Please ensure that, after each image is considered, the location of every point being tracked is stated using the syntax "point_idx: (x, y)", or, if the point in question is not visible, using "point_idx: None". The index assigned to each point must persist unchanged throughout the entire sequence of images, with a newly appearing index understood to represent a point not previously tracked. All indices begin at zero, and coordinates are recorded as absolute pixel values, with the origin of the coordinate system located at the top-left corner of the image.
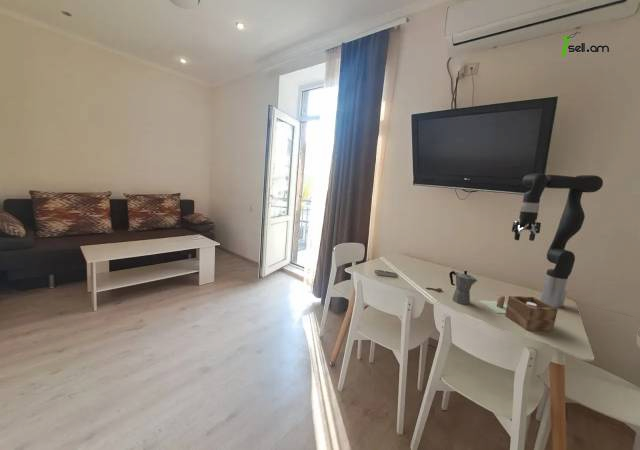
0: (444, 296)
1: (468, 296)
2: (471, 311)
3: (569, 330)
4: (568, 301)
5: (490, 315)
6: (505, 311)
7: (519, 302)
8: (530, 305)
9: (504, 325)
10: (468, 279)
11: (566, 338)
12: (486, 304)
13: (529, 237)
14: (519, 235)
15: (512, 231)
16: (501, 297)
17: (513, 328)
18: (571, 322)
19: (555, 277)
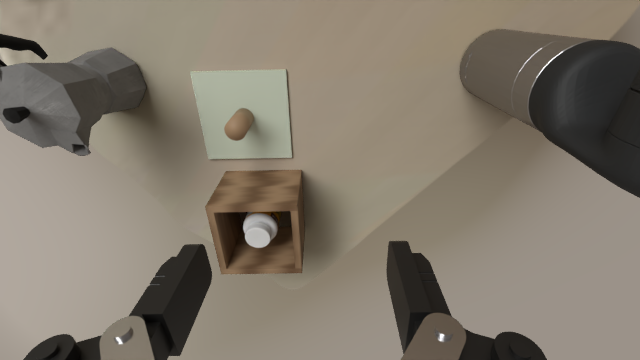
0: (55, 41)
1: (116, 111)
2: (129, 154)
3: (356, 223)
4: (626, 20)
5: (180, 172)
6: (242, 149)
7: (214, 241)
8: (248, 242)
9: (192, 216)
10: (47, 146)
11: (310, 252)
12: (202, 104)
13: (395, 263)
14: (183, 332)
15: (55, 345)
16: (229, 137)
17: (208, 226)
18: (410, 187)
19: (532, 119)
